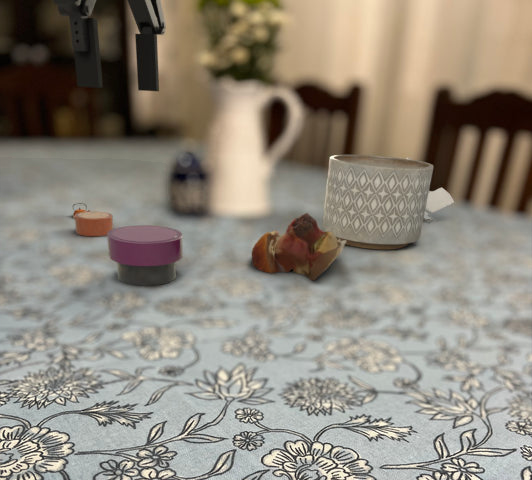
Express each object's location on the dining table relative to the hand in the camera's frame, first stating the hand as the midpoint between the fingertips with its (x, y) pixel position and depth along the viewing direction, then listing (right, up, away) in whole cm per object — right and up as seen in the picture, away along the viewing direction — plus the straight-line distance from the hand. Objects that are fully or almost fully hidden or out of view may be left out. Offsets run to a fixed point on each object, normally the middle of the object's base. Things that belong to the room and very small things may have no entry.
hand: (122, 89), depth 63 cm
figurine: (+51, -1, +58) cm, 77 cm away
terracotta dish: (-13, -10, +30) cm, 34 cm away
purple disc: (+1, -19, +8) cm, 21 cm away
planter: (+38, -10, +37) cm, 54 cm away
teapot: (-19, -5, +39) cm, 44 cm away
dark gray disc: (+1, -22, +9) cm, 24 cm away
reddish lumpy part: (+23, -18, +19) cm, 35 cm away
